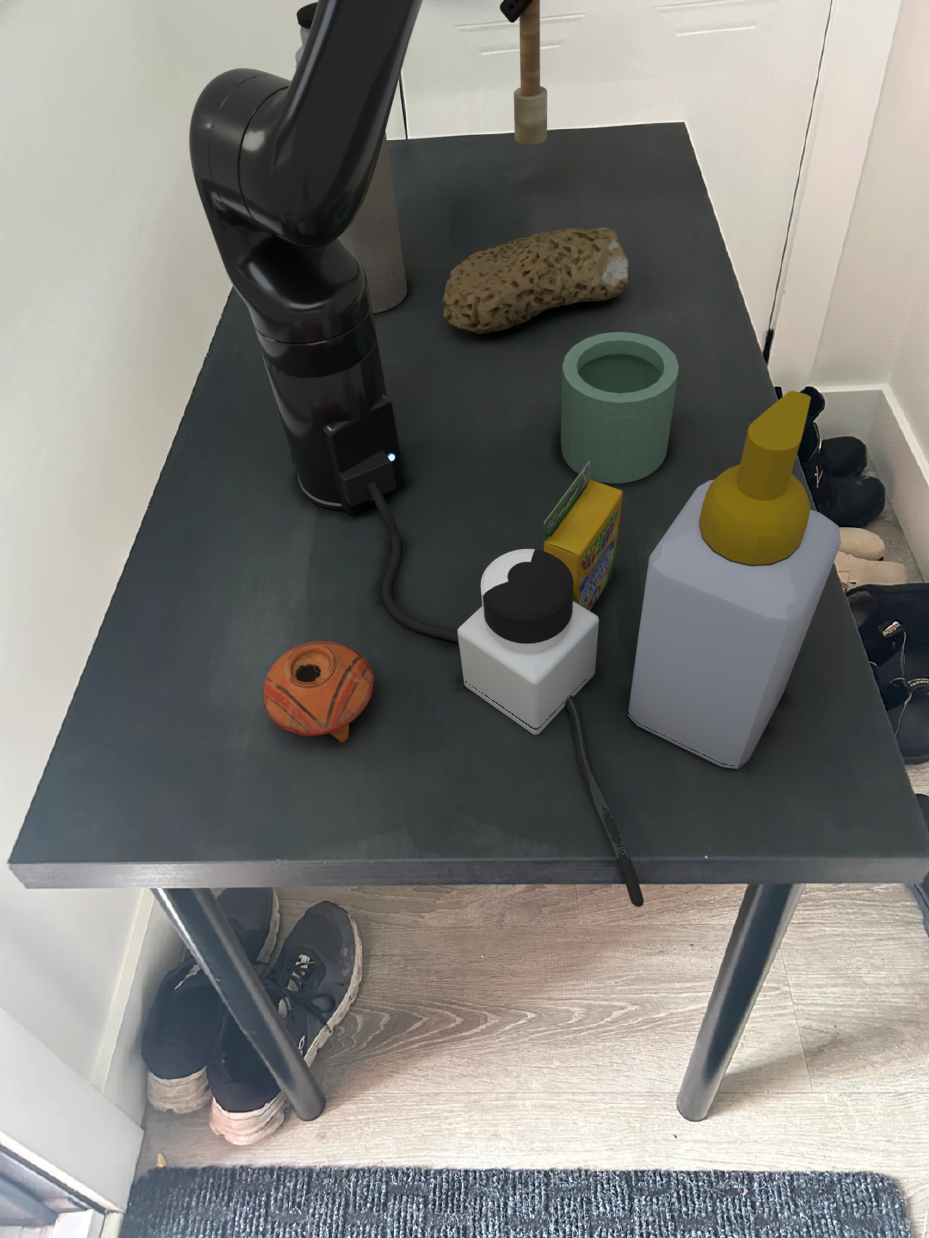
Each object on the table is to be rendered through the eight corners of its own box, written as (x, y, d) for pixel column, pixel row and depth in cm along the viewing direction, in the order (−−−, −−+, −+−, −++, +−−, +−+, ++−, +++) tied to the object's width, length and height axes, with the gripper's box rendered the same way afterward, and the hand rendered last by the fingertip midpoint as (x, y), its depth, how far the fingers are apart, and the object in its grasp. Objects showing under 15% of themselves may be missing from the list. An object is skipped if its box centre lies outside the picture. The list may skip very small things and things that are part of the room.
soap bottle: (787, 685, 64) (895, 409, 45) (738, 780, 60) (833, 521, 40) (674, 636, 68) (726, 359, 48) (619, 722, 64) (653, 457, 44)
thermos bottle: (344, 275, 103) (289, -7, 81) (411, 274, 102) (374, -11, 80) (331, 314, 98) (268, 26, 76) (401, 314, 97) (359, 22, 75)
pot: (271, 771, 63) (245, 703, 59) (282, 696, 69) (259, 629, 65) (383, 756, 62) (364, 686, 58) (383, 682, 69) (366, 614, 64)
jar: (688, 448, 81) (702, 365, 74) (613, 499, 77) (621, 418, 70) (613, 400, 86) (619, 318, 78) (539, 446, 82) (539, 365, 75)
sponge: (600, 270, 102) (429, 261, 98) (621, 210, 95) (438, 198, 91) (623, 354, 96) (441, 348, 92) (647, 297, 89) (453, 288, 85)
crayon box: (574, 641, 68) (579, 538, 59) (540, 626, 69) (540, 523, 60) (615, 577, 72) (626, 471, 63) (582, 564, 73) (588, 458, 64)
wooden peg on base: (553, 137, 104) (555, -37, 90) (529, 148, 102) (527, -26, 89) (532, 128, 106) (530, -44, 92) (508, 138, 104) (502, -34, 91)
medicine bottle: (596, 674, 66) (605, 569, 57) (536, 738, 63) (535, 638, 54) (522, 627, 69) (519, 520, 60) (462, 686, 66) (448, 583, 57)
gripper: (626, -192, 84) (508, -42, 97) (583, -154, 76) (461, 3, 89) (675, -120, 87) (554, 16, 100) (638, -76, 79) (512, 65, 92)
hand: (511, 10), depth 94 cm, fingers closed on wooden peg on base, 2 cm apart
